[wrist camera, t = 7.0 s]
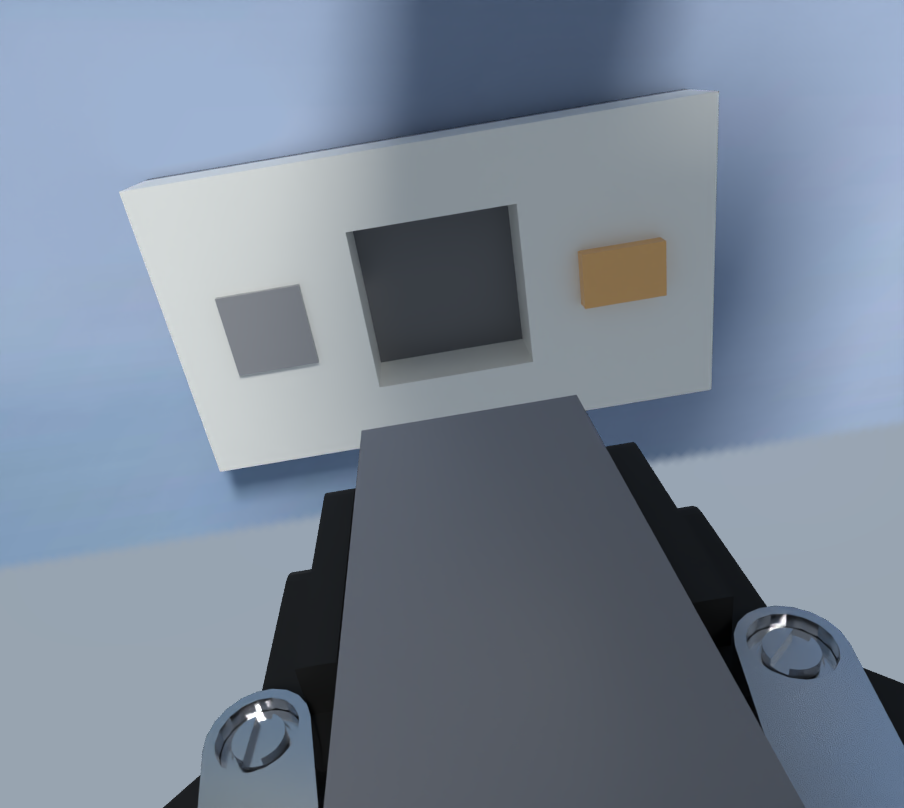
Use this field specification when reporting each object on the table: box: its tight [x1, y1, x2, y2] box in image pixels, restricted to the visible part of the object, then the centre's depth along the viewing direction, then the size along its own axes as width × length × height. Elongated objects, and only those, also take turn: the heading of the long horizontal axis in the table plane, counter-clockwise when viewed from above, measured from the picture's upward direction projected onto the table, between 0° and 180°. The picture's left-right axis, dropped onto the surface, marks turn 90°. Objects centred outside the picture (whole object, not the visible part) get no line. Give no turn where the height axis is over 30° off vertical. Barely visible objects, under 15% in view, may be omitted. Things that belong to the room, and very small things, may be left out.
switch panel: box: [119, 89, 719, 472], centre depth 26 cm, size 20×11×4 cm, turn 99°
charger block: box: [323, 395, 805, 808], centre depth 10 cm, size 4×4×8 cm
